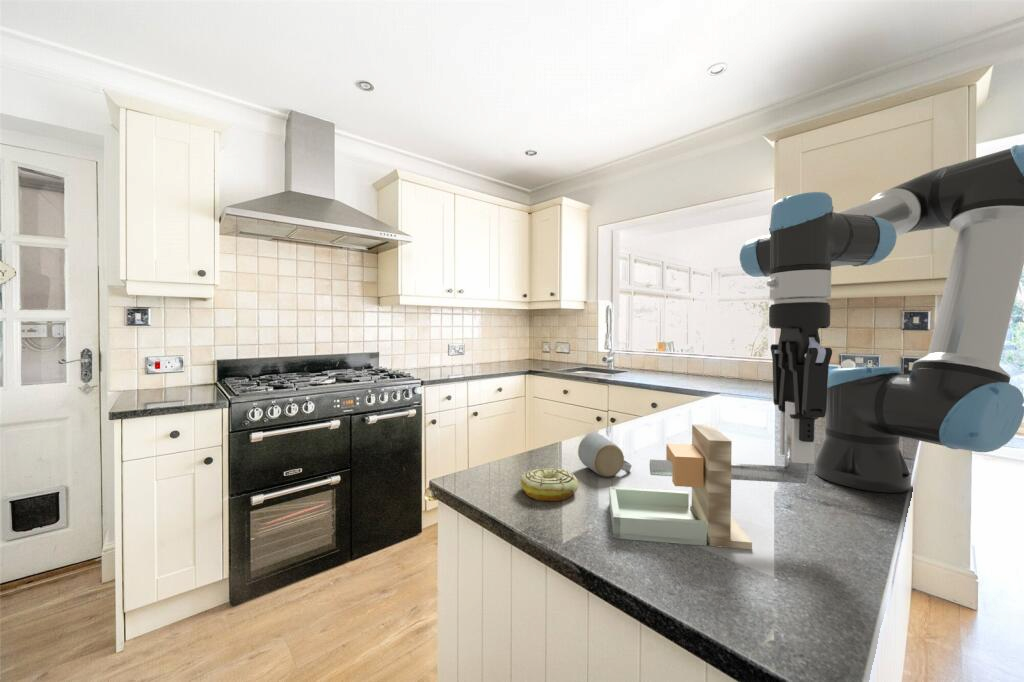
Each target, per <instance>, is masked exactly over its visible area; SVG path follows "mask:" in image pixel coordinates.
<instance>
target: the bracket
mask: <svg viewBox="0 0 1024 682" xmlns="http://www.w3.org/2000/svg"><path fill="white" fill-rule="evenodd" d="M691 430H692V431H691V445H693V446H694V447H695V449H696V450H697V451H698V452H699V453H700V454H701V456H702V457H703V488H699V487H691V503H690V504H689V506H690V507H689V509H690V511H691V513H692V515H693V517H694V518H695V520H703V521H705V522H706V523H707V543H708V544H709V547H715V546H718V547H719V546H721V547H719V548H728V547H730V548H729V549H740V550H741V549H742V550H753V541H751V539H750V538H749V537H748V535H747V534H746V532H745V531H744V530H743V528H741V526H740V525H739V523H738V522H737V521H736V519H735V517H733V515H732V480H731V463H732V448H733V447H732V440H731V439H730V438H729V437H727V436H726V435H724V434H723V433H722V432H721V431H719V430H718V429H717V428H716V427H715V426H713V425H712V424H692V426H691ZM731 547H732V548H731Z"/></svg>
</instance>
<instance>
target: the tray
mask: <svg viewBox="0 0 1024 682" xmlns="http://www.w3.org/2000/svg"><path fill="white" fill-rule="evenodd" d="M608 493H609V512H610V521H611V530H612V538H613V539H620V540H631V541H643V542H644V541H645V542H658V543H670V544H679V545H680V544H681V545H690V546H691V545H692V546H693V545H694V546H703V545H704V546H705V547H706V546H707V543H708V541H707V523H706V522H705V521H703V520H695V518H694V516H693V514H692V512H691V511H690V507H689V506H690V504H689V495H690V494H689V491H685V490H671V489H670V490H669V489H657V488H656V489H654V488H640V487H639V488H636V487H622V486H621V487H620V486H609V492H608Z"/></svg>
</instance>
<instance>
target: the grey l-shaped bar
mask: <svg viewBox="0 0 1024 682" xmlns="http://www.w3.org/2000/svg"><path fill="white" fill-rule="evenodd" d="M790 414H795V401H794V400H789V401H785V450H784V455H783V457H784V459H783V460H784V461H783V462H784V464H783V465H773V464H772V465H770V464H752V463H751V464H750V463H749V464H748V463H732V462H731V481H733V480H734V481H735V480H737V481H748V482H749V481H750V482H751V481H752V482H769V483H771V482H772V483H785V484H786V483H788V484H789V483H791V484H807V483H808V478H809V463H793V462H792V461H791V439H792V418H791V417H790ZM649 474H650V475H651V476H660V477H661V476H662V477H672V463H671V461H670V460H665V459H649Z"/></svg>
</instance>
